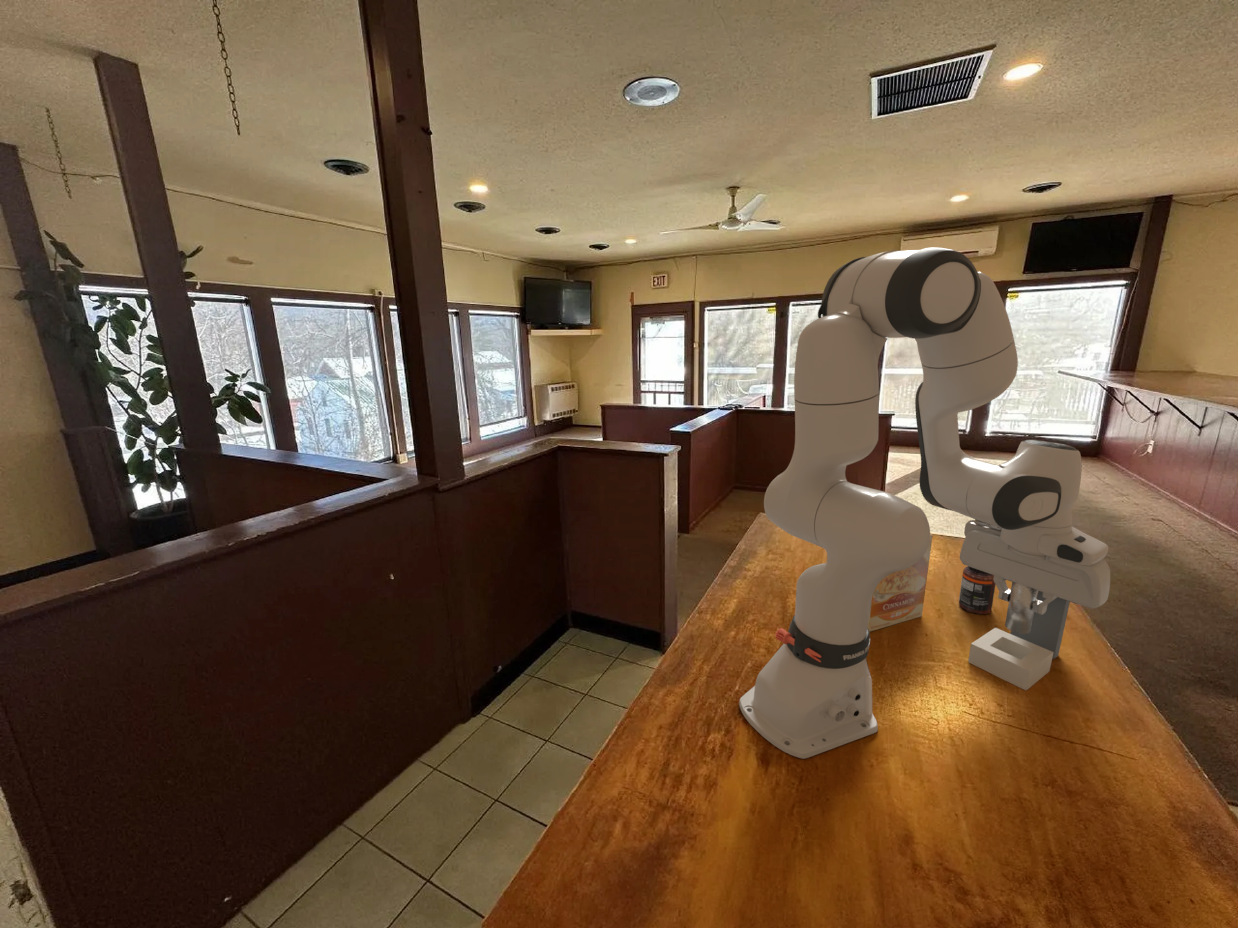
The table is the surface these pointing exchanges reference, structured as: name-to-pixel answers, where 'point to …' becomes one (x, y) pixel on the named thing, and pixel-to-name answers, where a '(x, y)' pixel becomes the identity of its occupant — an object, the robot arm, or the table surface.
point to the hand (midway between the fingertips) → (1021, 605)
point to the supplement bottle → (976, 591)
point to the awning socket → (1023, 647)
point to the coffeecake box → (900, 595)
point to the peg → (1020, 608)
